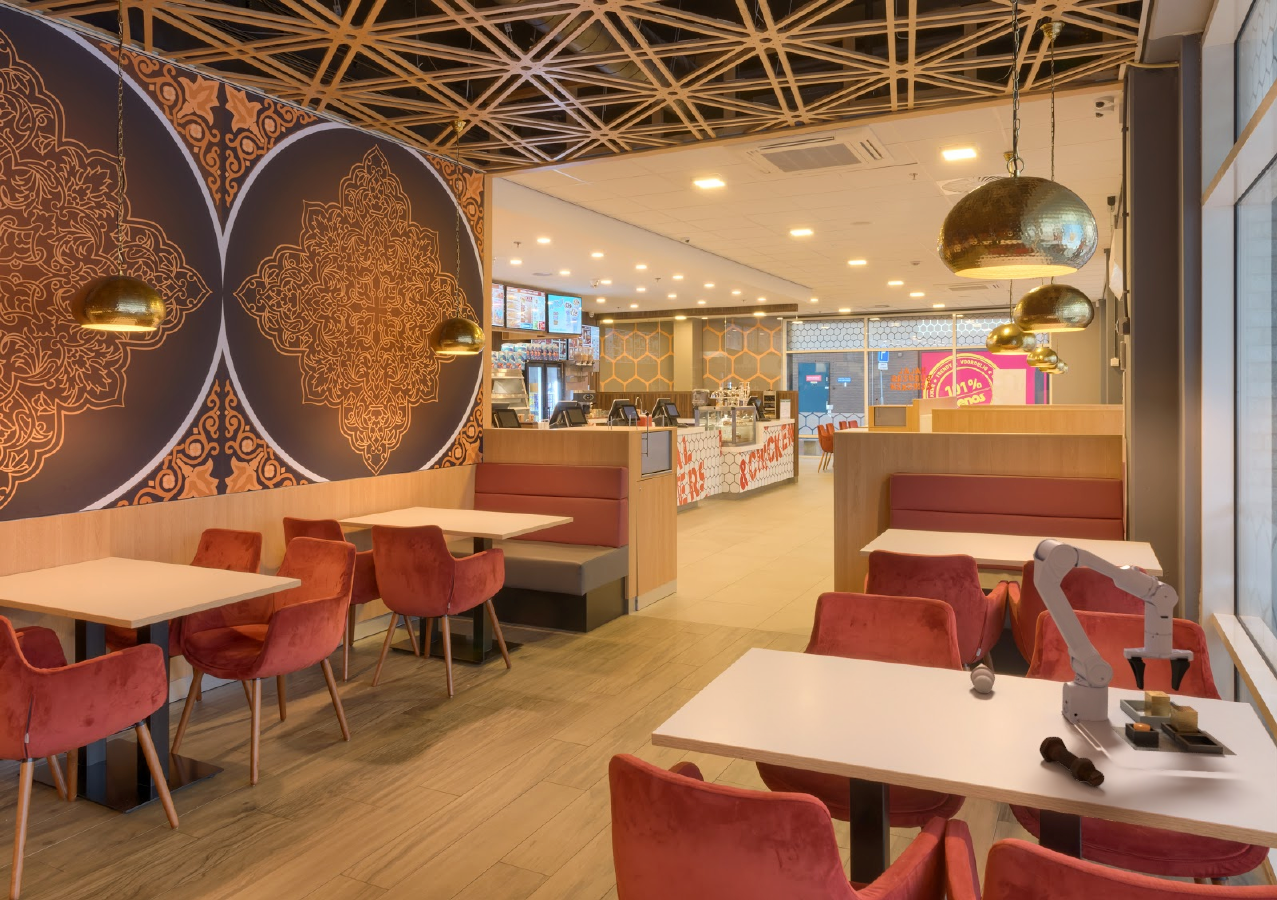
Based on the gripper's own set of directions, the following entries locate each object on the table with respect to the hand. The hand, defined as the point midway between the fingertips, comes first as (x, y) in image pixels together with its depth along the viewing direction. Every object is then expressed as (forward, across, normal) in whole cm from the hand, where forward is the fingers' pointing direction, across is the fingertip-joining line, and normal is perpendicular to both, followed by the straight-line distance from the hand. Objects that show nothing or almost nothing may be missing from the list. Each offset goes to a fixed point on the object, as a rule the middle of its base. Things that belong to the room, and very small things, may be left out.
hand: (1157, 688), depth 207 cm
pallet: (+8, -3, -15) cm, 17 cm away
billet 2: (+7, +1, -12) cm, 13 cm away
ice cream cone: (+8, -35, +21) cm, 42 cm away
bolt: (+8, -29, -34) cm, 46 cm away
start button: (+6, -9, -15) cm, 19 cm away
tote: (+8, 0, 0) cm, 8 cm away
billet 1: (+7, 0, 0) cm, 7 cm away
